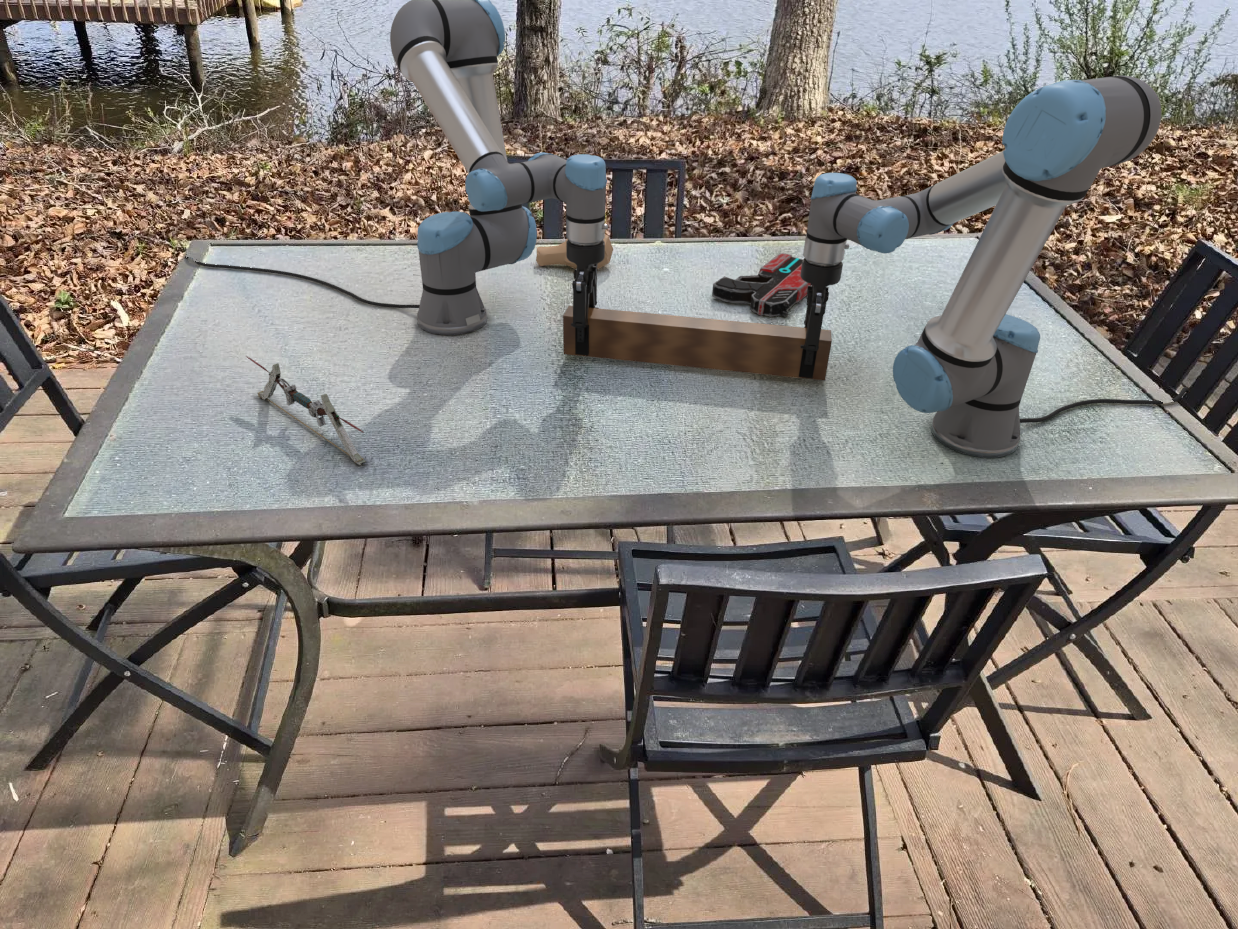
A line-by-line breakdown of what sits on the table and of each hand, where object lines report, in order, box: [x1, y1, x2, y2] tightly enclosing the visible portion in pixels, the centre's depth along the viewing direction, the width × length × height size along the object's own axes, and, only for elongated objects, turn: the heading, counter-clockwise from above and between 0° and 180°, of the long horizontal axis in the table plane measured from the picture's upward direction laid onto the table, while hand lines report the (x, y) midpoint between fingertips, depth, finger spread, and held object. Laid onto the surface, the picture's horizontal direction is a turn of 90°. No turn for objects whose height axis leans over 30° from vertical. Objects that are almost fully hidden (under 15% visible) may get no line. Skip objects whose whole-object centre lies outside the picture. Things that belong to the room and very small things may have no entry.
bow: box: [245, 355, 367, 466], centre depth 155 cm, size 39×2×10 cm, turn 47°
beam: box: [562, 305, 833, 381], centre depth 178 cm, size 54×5×9 cm, turn 80°
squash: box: [535, 234, 614, 270], centre depth 224 cm, size 11×20×9 cm, turn 90°
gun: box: [711, 252, 810, 318], centre depth 215 cm, size 4×31×19 cm
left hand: (584, 347), depth 183 cm, fingers closed on beam, 5 cm apart
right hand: (805, 369), depth 177 cm, fingers closed on beam, 5 cm apart
